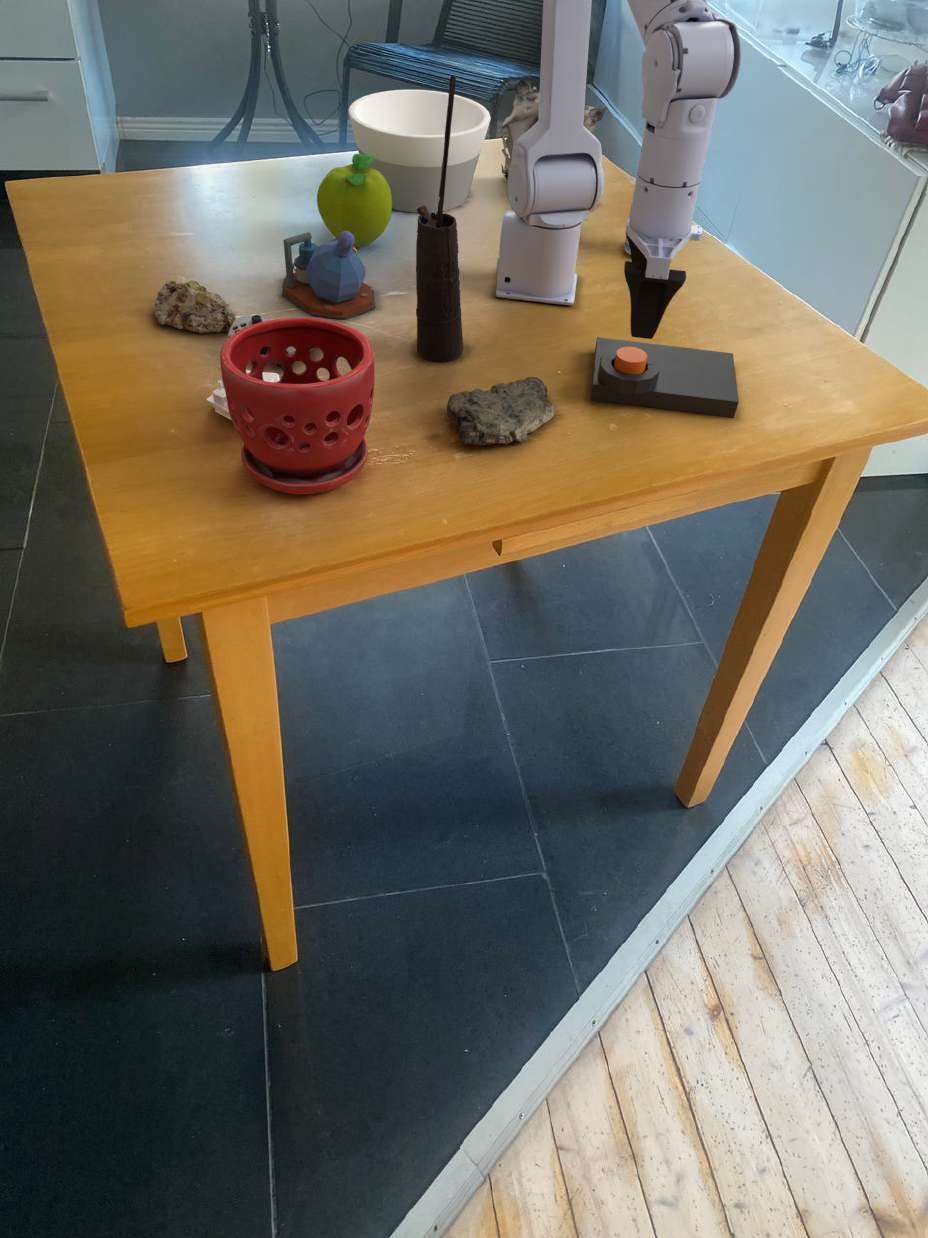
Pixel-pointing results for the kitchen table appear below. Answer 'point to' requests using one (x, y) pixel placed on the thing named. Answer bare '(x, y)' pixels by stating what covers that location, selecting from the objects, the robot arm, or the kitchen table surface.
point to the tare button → (630, 360)
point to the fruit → (355, 201)
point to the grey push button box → (667, 379)
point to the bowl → (420, 144)
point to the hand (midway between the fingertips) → (642, 318)
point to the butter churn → (438, 273)
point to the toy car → (219, 395)
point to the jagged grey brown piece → (533, 118)
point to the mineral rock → (192, 308)
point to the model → (327, 278)
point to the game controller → (250, 320)
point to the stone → (500, 412)
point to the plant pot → (300, 403)
